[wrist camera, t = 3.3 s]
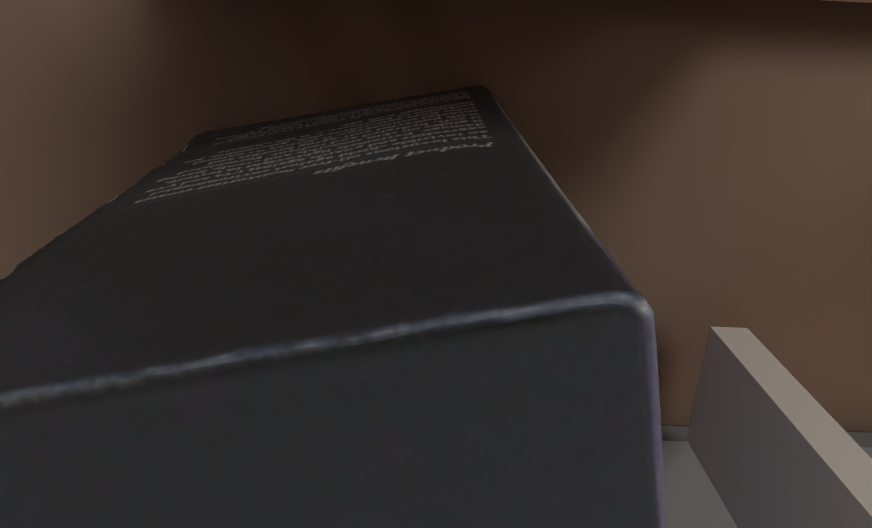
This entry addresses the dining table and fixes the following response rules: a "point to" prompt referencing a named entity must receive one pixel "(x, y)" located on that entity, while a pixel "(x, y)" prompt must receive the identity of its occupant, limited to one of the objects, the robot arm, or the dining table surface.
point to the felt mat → (701, 483)
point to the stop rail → (859, 0)
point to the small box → (333, 340)
